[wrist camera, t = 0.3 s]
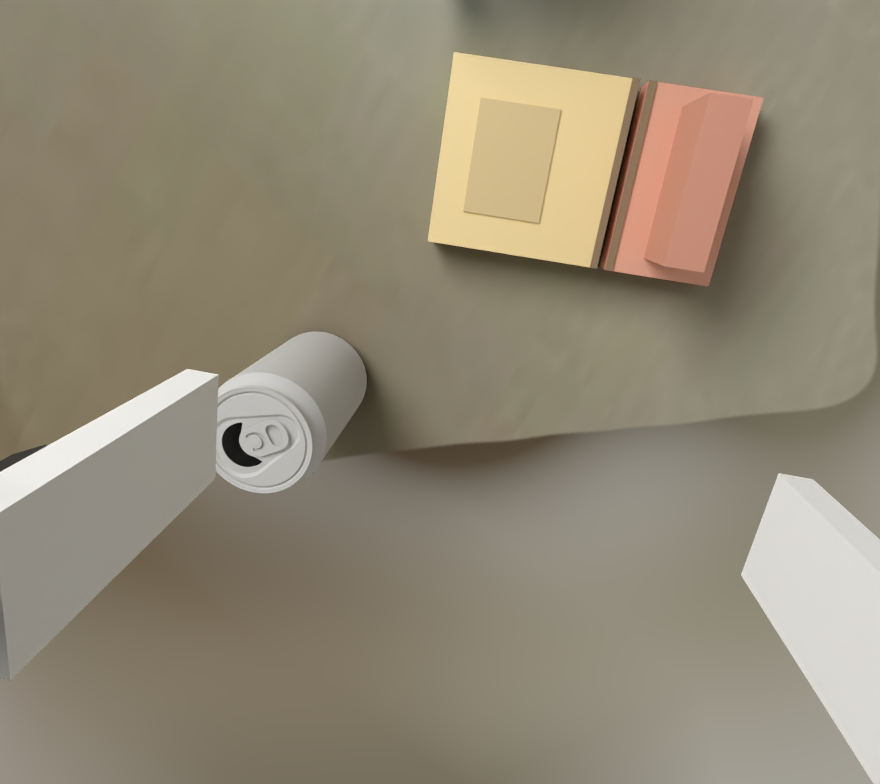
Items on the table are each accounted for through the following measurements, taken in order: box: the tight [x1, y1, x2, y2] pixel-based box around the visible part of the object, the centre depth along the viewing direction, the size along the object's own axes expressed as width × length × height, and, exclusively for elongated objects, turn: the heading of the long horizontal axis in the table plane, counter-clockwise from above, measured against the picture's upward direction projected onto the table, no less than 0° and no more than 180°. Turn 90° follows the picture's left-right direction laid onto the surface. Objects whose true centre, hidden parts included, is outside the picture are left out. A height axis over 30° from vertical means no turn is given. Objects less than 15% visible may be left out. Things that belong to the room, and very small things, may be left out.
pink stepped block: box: [600, 80, 763, 287], centre depth 32 cm, size 10×6×6 cm, turn 172°
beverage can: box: [216, 332, 367, 493], centre depth 35 cm, size 6×6×12 cm
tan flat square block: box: [428, 52, 640, 269], centre depth 34 cm, size 10×10×2 cm
